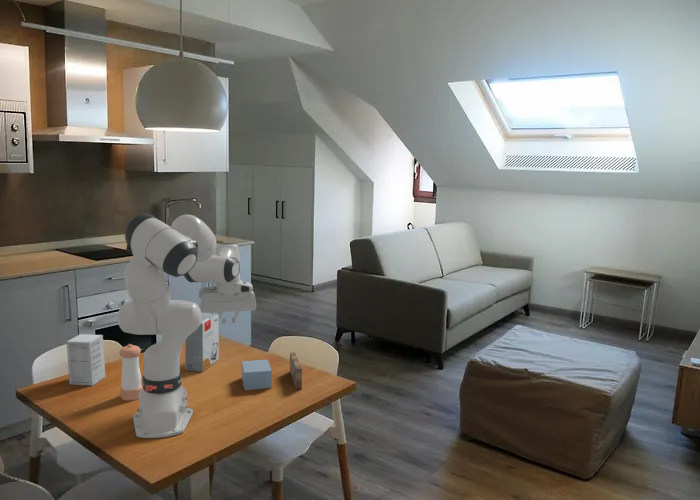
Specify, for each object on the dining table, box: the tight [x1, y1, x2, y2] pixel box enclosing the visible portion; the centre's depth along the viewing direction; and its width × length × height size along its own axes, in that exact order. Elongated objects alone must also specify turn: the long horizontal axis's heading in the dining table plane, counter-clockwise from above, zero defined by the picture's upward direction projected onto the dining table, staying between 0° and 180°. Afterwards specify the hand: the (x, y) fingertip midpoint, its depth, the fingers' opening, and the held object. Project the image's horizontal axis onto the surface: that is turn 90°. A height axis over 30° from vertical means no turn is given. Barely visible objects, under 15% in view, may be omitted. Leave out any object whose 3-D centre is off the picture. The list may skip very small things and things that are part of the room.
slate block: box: [241, 359, 273, 391], centre depth 214 cm, size 12×10×7 cm
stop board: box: [289, 351, 303, 390], centre depth 217 cm, size 18×2×8 cm, turn 14°
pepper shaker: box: [118, 343, 143, 401], centre depth 198 cm, size 7×7×19 cm
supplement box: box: [66, 333, 106, 387], centre depth 211 cm, size 10×9×17 cm
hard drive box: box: [184, 312, 220, 373], centre depth 230 cm, size 16×8×20 cm, turn 168°
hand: (228, 322), depth 208 cm, fingers open, 2 cm apart
